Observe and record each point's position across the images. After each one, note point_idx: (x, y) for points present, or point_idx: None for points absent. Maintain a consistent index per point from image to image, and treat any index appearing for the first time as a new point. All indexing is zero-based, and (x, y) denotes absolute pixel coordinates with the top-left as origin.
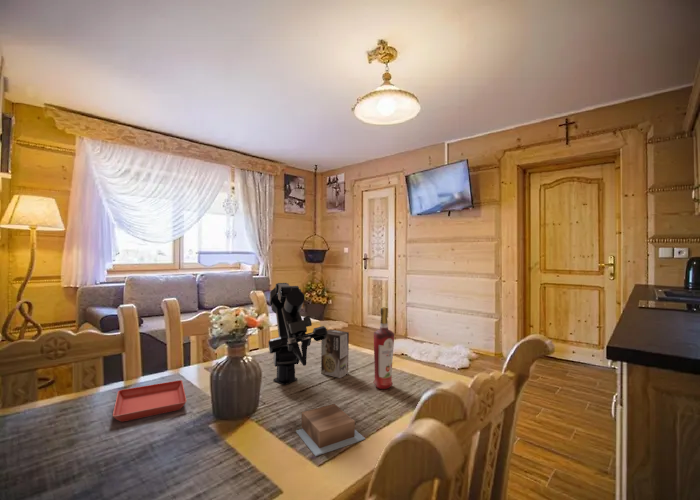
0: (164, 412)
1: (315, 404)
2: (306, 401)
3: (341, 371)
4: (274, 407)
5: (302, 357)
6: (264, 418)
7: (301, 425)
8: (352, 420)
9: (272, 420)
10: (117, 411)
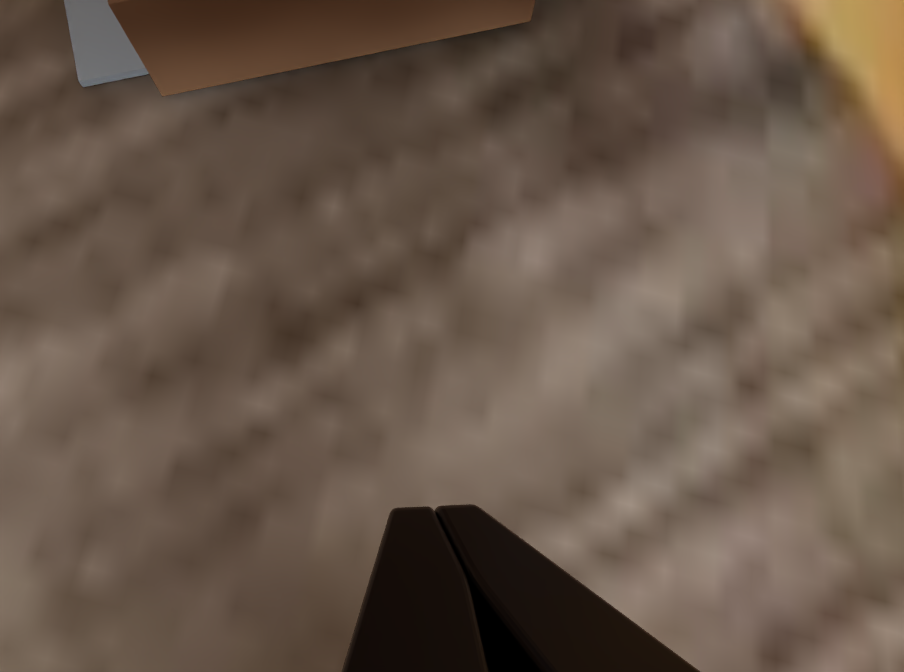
0: None
1: (279, 485)
2: None
3: None
4: (788, 539)
5: (534, 627)
6: (889, 306)
7: (532, 12)
8: None
9: (804, 243)
10: None
